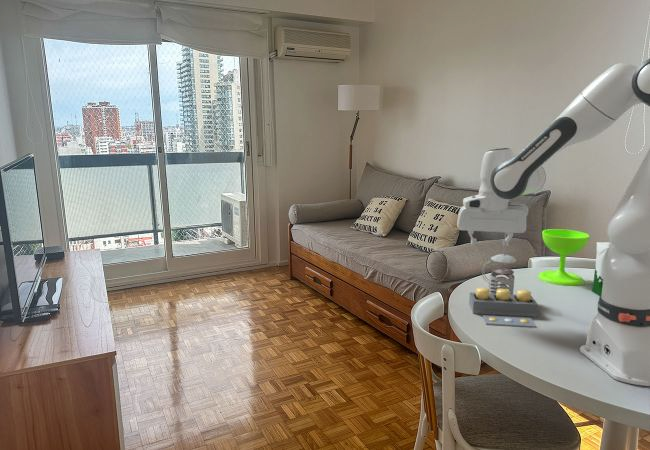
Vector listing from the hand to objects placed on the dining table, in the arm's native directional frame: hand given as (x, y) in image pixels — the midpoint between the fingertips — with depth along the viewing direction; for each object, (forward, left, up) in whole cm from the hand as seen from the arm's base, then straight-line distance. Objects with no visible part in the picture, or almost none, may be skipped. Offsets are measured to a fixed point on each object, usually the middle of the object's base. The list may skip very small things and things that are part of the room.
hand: (489, 245), depth 141 cm
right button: (-1, -11, -18) cm, 21 cm away
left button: (-1, +1, -18) cm, 18 cm away
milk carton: (+19, -44, -21) cm, 53 cm away
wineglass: (+35, -34, -21) cm, 54 cm away
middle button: (-1, -5, -18) cm, 18 cm away
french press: (+11, -6, -21) cm, 25 cm away
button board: (-5, -5, -21) cm, 22 cm away
